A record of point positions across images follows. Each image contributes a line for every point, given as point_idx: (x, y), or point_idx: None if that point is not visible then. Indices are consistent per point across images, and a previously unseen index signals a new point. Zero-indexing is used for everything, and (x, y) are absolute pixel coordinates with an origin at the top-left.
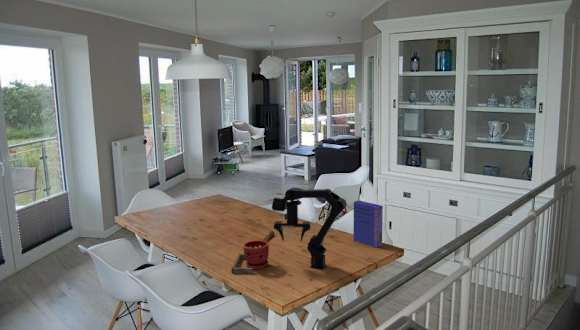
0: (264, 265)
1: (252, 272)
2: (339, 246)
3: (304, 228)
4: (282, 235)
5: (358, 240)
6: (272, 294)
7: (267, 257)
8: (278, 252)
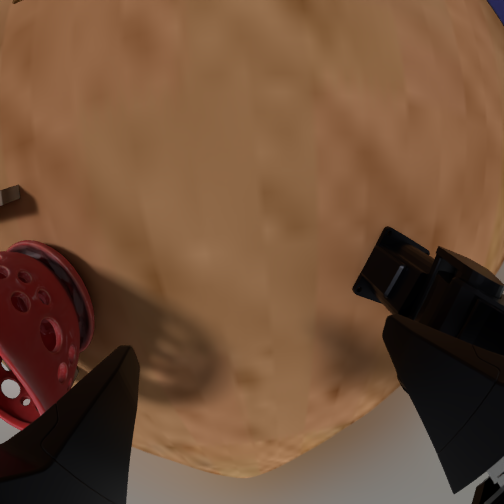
0: (90, 341)
1: (75, 374)
2: (457, 10)
3: (485, 494)
4: (121, 468)
5: (495, 5)
6: (213, 463)
7: (77, 338)
8: (111, 46)
